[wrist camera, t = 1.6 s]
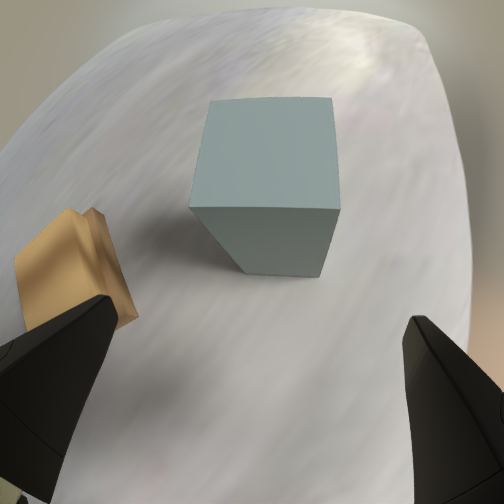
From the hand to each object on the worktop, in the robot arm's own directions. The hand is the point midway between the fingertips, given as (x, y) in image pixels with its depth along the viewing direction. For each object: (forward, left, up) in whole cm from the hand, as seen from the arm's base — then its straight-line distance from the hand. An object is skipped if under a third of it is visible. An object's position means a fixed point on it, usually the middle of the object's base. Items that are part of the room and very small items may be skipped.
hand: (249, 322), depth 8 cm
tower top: (+7, +16, -10) cm, 20 cm away
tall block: (+6, -2, -11) cm, 13 cm away
